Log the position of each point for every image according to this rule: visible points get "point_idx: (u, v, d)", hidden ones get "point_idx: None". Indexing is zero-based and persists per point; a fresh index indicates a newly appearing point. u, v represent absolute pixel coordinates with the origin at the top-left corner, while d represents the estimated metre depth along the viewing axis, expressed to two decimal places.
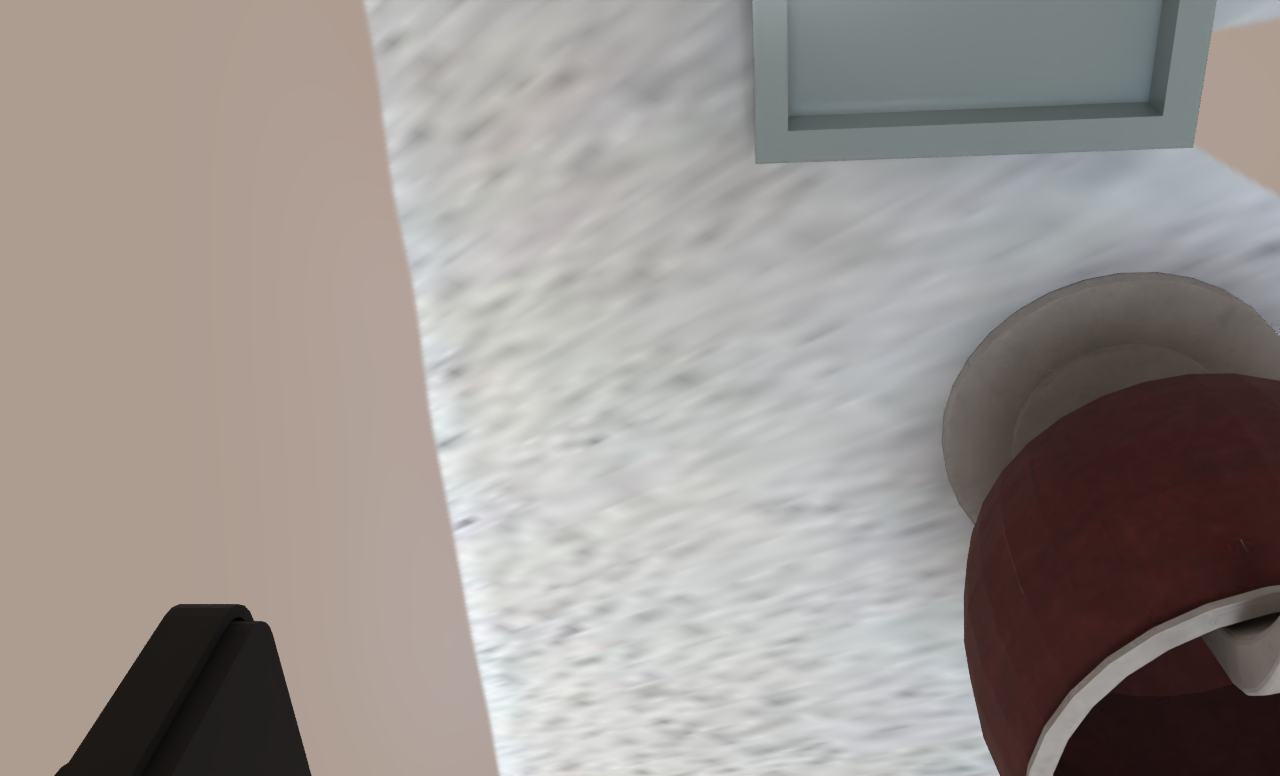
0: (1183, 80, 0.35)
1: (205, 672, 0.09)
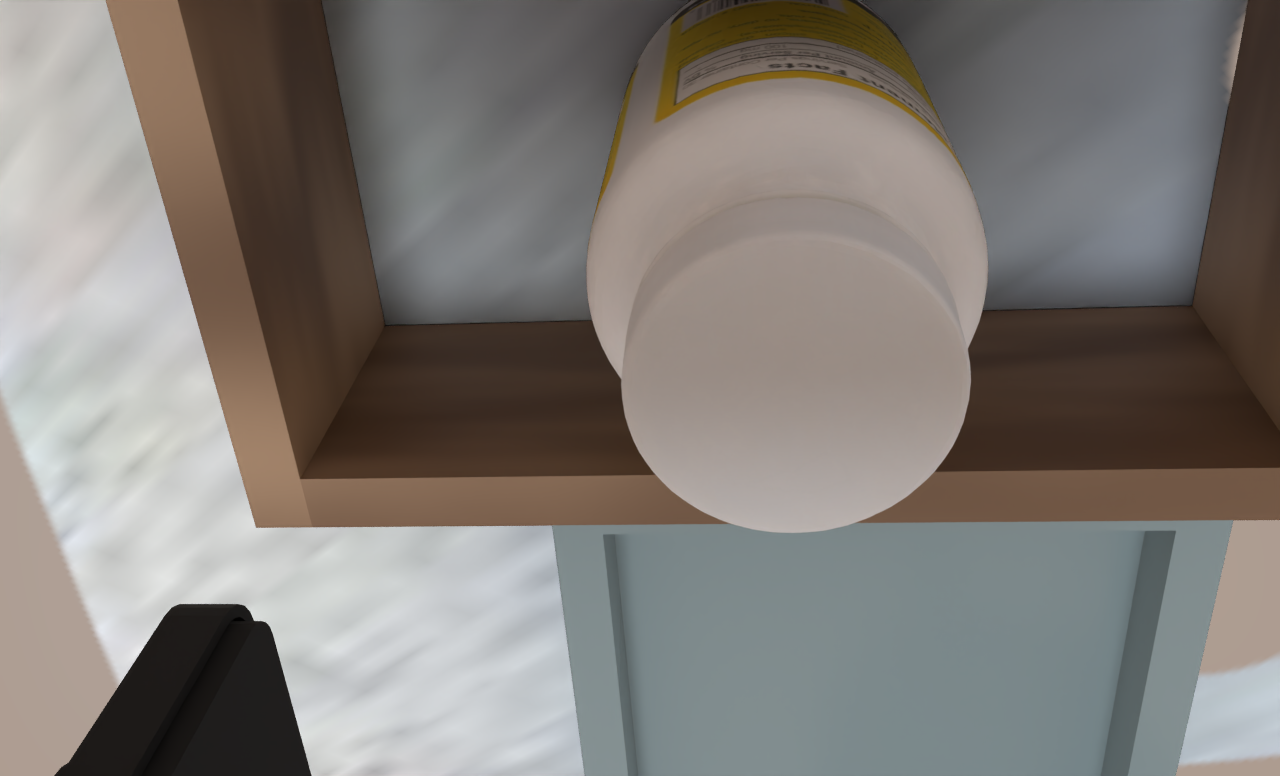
0: None
1: (205, 672, 0.09)
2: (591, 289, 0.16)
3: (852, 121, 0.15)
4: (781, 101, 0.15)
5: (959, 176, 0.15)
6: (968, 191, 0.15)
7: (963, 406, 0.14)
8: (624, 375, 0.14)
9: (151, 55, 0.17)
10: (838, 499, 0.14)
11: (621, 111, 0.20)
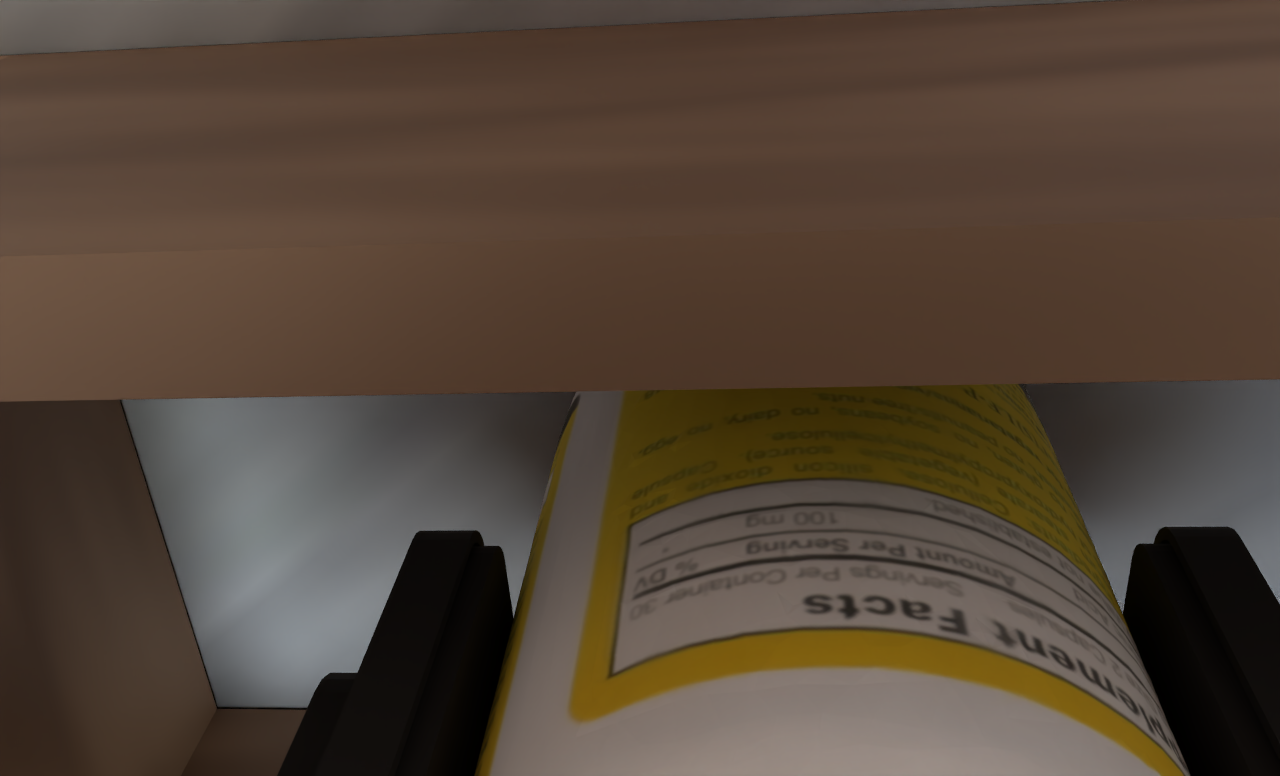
0: None
1: (461, 589, 0.10)
2: None
3: None
4: (838, 766, 0.07)
5: None
6: None
7: None
8: None
9: None
10: None
11: (543, 509, 0.11)
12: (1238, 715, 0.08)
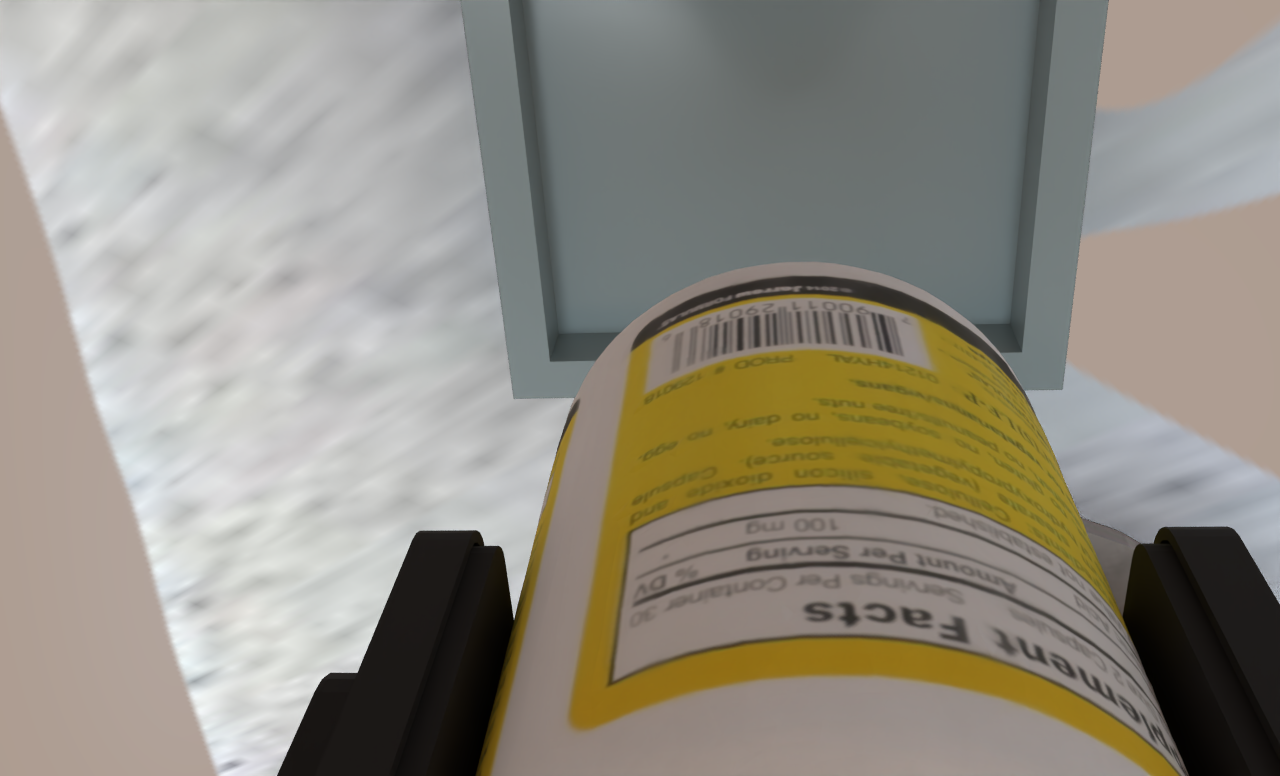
0: (1045, 311, 0.27)
1: (461, 589, 0.10)
2: None
3: None
4: (838, 774, 0.06)
5: None
6: None
7: None
8: None
9: None
10: None
11: (542, 514, 0.11)
12: (1238, 715, 0.08)
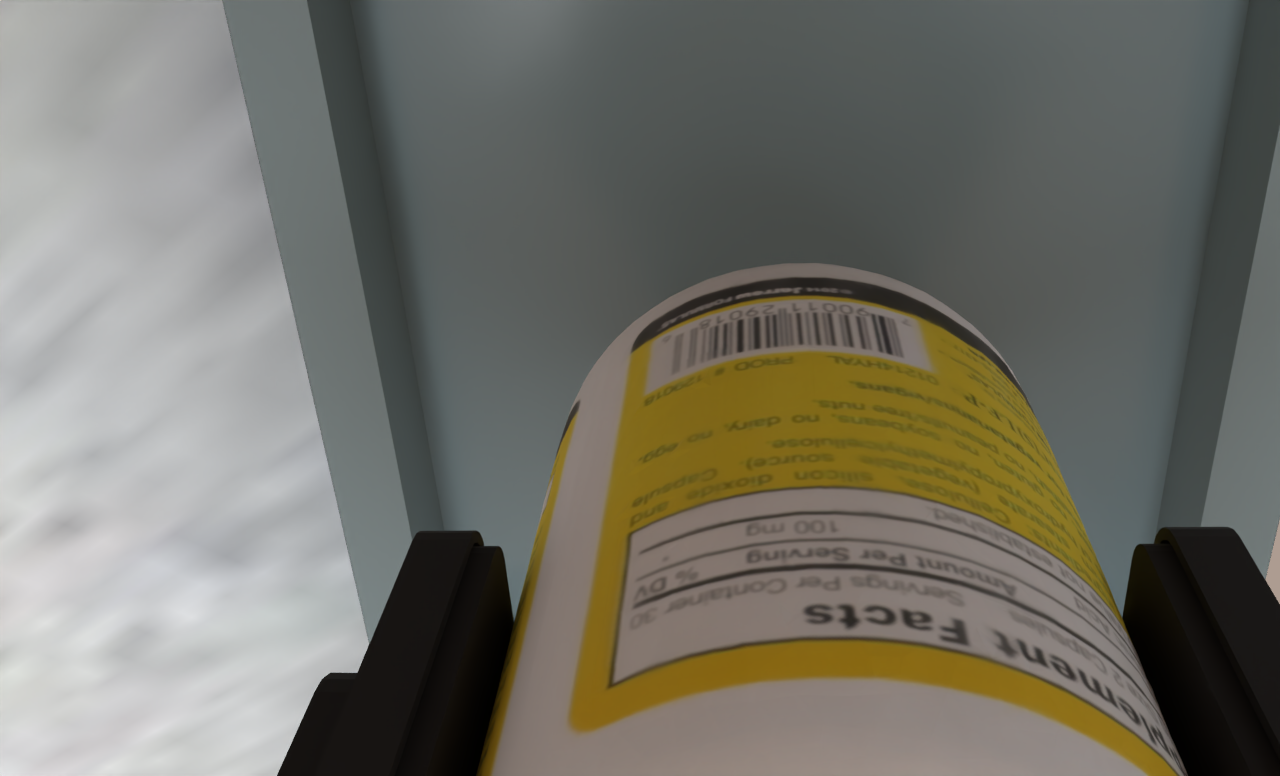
0: None
1: (462, 589, 0.10)
2: None
3: None
4: None
5: None
6: None
7: None
8: None
9: None
10: None
11: (543, 515, 0.11)
12: (1238, 715, 0.08)
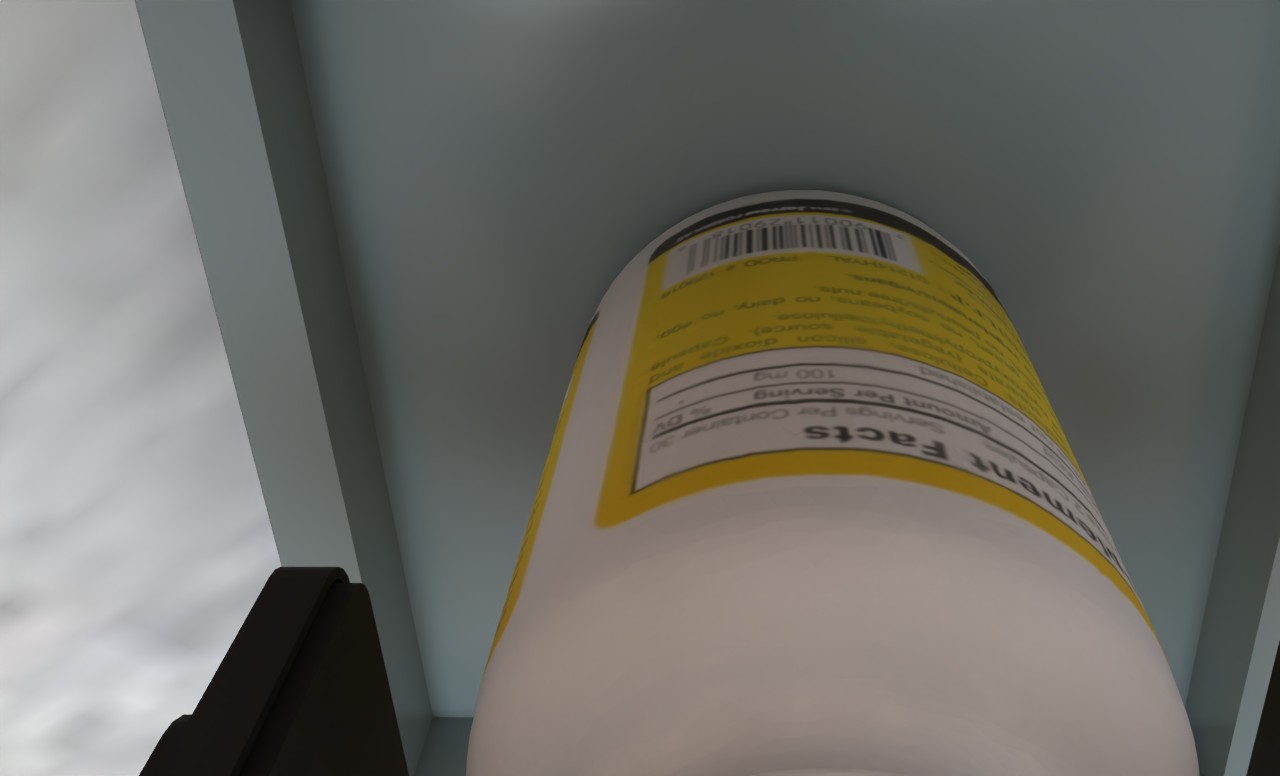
0: None
1: (313, 629, 0.10)
2: None
3: (967, 590, 0.07)
4: (833, 541, 0.08)
5: (1162, 674, 0.08)
6: (1176, 698, 0.08)
7: None
8: None
9: None
10: None
11: (565, 403, 0.12)
12: None
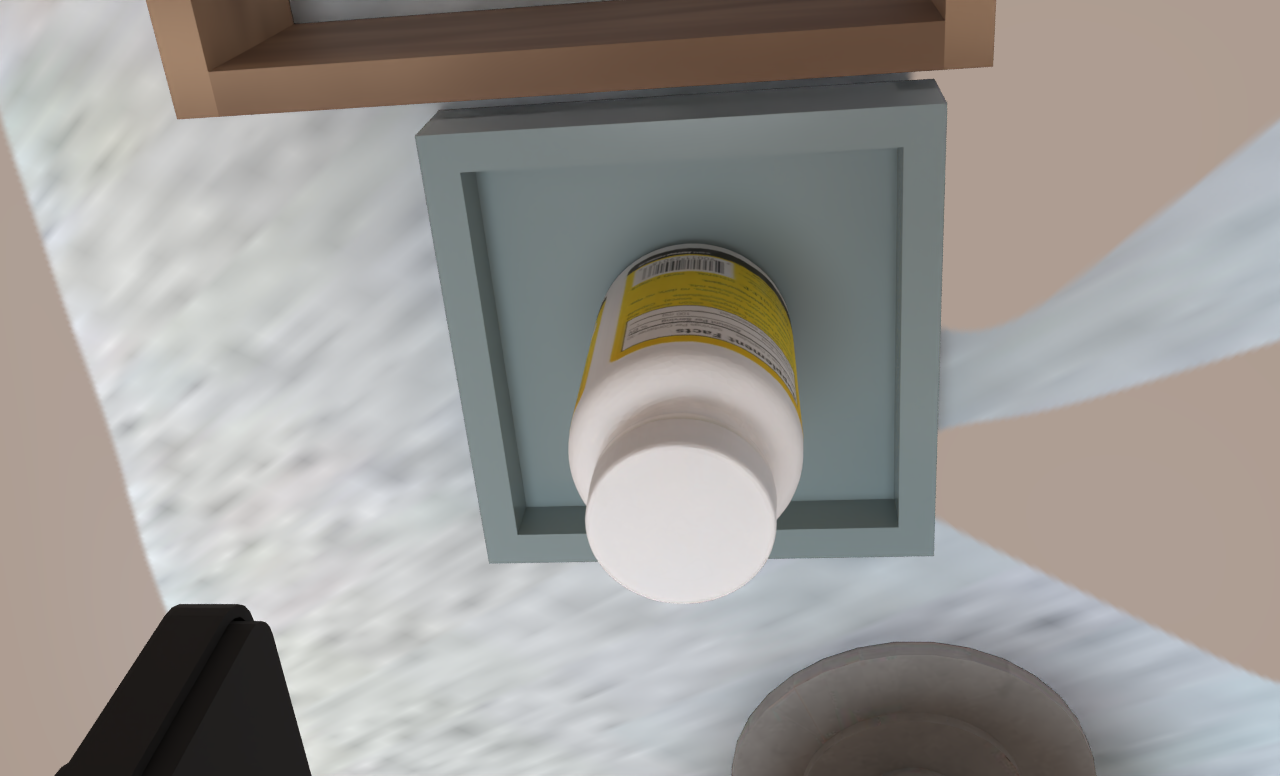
0: (914, 496, 0.34)
1: (205, 672, 0.09)
2: (571, 457, 0.27)
3: (718, 370, 0.26)
4: (679, 358, 0.26)
5: (782, 399, 0.26)
6: (788, 407, 0.27)
7: (772, 535, 0.25)
8: (586, 514, 0.25)
9: None
10: (707, 585, 0.25)
11: (594, 333, 0.31)
12: None
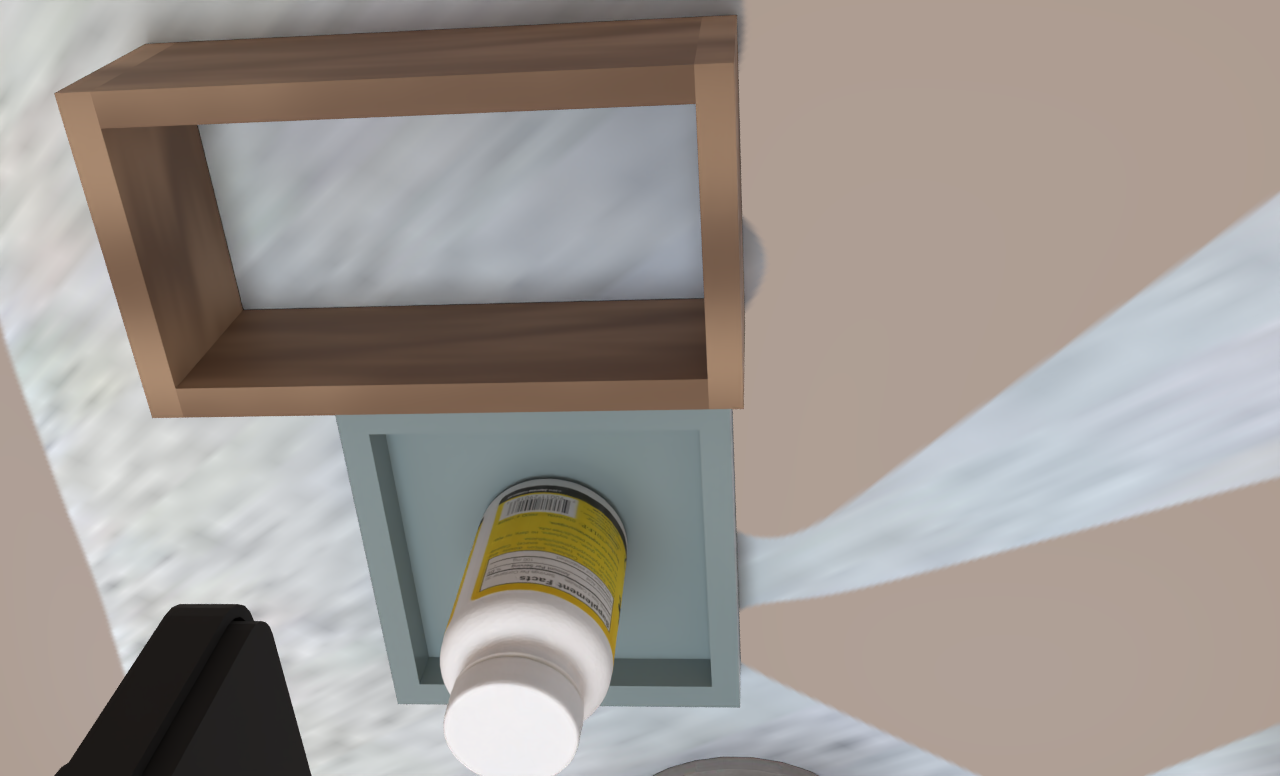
0: (722, 665, 0.44)
1: (205, 672, 0.09)
2: (441, 667, 0.37)
3: (545, 616, 0.36)
4: (517, 606, 0.36)
5: (593, 634, 0.36)
6: (598, 639, 0.36)
7: (576, 742, 0.35)
8: (444, 724, 0.35)
9: (89, 161, 0.33)
10: (531, 772, 0.35)
11: (470, 552, 0.41)
12: None
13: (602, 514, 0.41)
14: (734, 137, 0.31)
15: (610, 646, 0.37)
